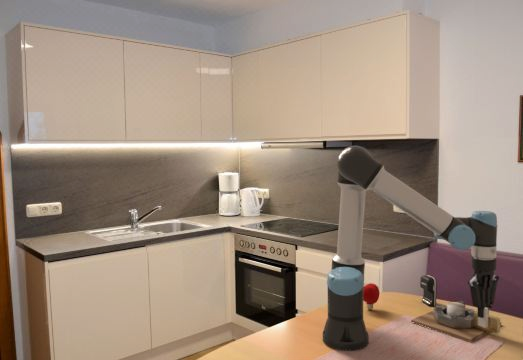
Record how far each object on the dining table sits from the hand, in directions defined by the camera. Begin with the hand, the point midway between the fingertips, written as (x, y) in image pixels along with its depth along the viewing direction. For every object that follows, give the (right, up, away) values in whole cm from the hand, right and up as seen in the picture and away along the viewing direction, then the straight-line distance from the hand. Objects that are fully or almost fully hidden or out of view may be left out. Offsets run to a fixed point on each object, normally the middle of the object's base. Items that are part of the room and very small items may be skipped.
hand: (482, 326), depth 153 cm
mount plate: (-5, -2, +10) cm, 12 cm away
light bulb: (-32, -2, +26) cm, 41 cm away
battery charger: (-7, -1, +31) cm, 32 cm away
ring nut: (-2, -1, +7) cm, 7 cm away
